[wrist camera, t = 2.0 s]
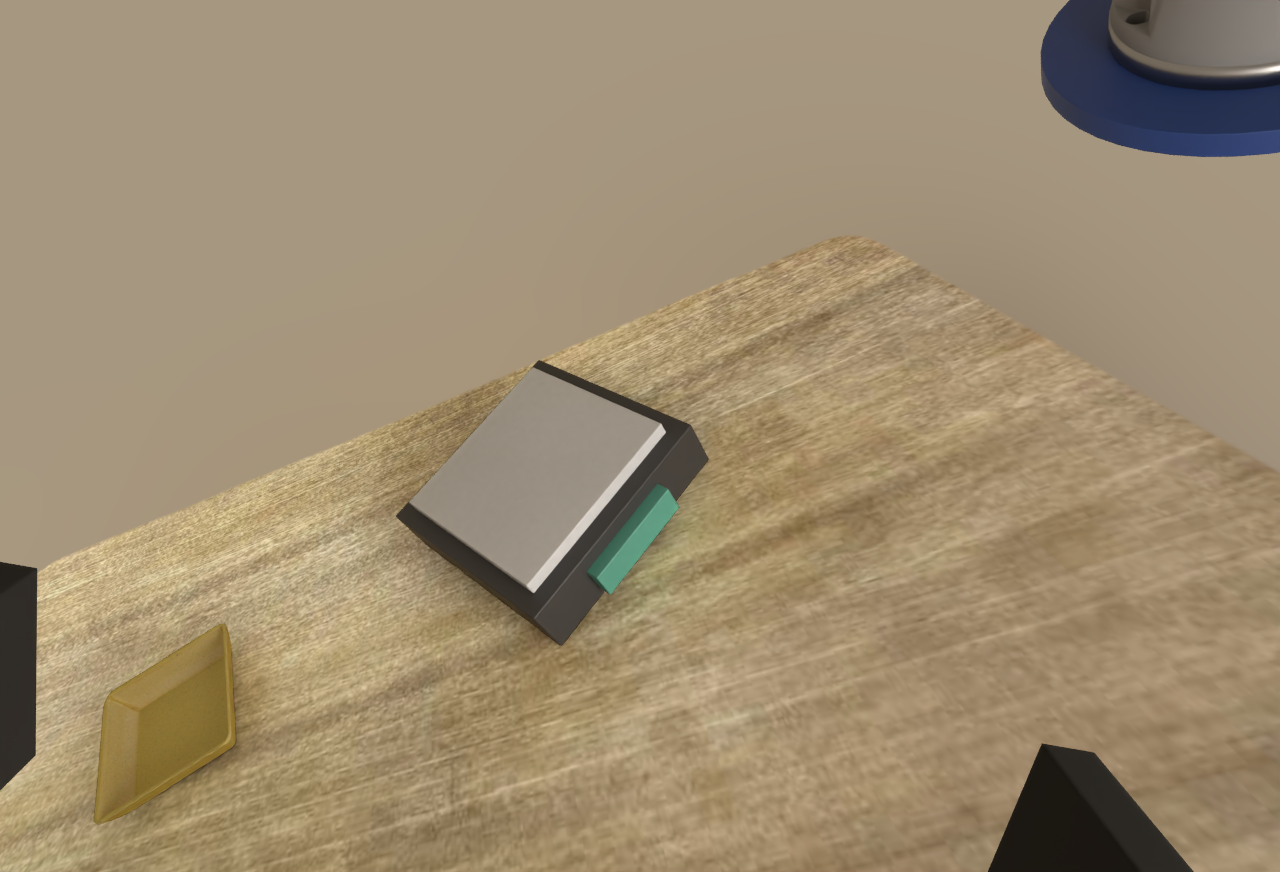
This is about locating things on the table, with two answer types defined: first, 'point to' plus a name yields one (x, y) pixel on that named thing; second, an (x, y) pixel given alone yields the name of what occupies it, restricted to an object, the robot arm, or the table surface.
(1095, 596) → the table surface
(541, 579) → the scale
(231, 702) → the saucer
